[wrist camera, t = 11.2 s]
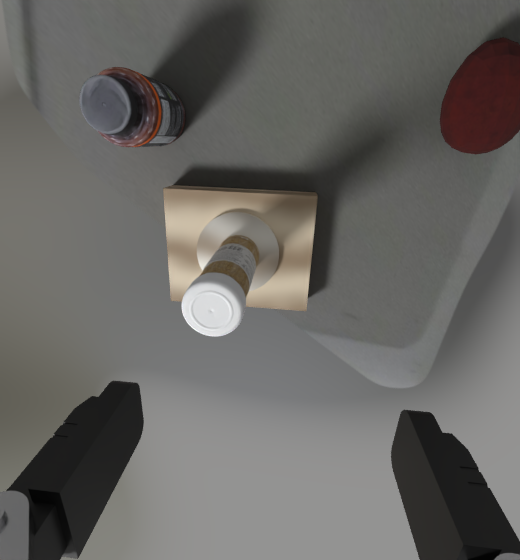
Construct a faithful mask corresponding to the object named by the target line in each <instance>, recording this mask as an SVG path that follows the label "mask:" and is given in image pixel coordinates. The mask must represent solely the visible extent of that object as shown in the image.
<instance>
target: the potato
mask: <svg viewBox="0 0 520 560" xmlns="http://www.w3.org/2000/svg"><path fill="white" fill-rule="evenodd" d="M440 125H441V132H442V135H443V137H444V139H445V142H446V143H448V144H449V145H450V146H451V147H452V148H454V149H456V150H458V151H461V152H464V153H471V154H480V153H487V152H490V151H492V150H495V149H498V148H499V147H501V146H503V145H504V144H506V143H507V142H508V141H510V140H511V139H512V138H513V137H514V136H515V135H516V134H517V133H518V132H519V130H520V45H519V44H518V43H517V42H514V41H512V40H509V39H506V38H504V37H502V38H498V39H494V40H490V41H486V42H485V43H483V44H482V45H481V46H480V47H478V48H477V49H476V50H475V51H474V52H472V53H471V54H470V55H469V56H468V57H467V58H466V59H465V60H464V62H463V63H462V65H461V66H460V68H459V69H458V70H457V72H456V73H455V75H454V76H453V78H452V79H451V81H450V83H449V86H448V89H447V91H446V94H445V97H444V99H443V102H442V108H441V116H440Z"/></svg>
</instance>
